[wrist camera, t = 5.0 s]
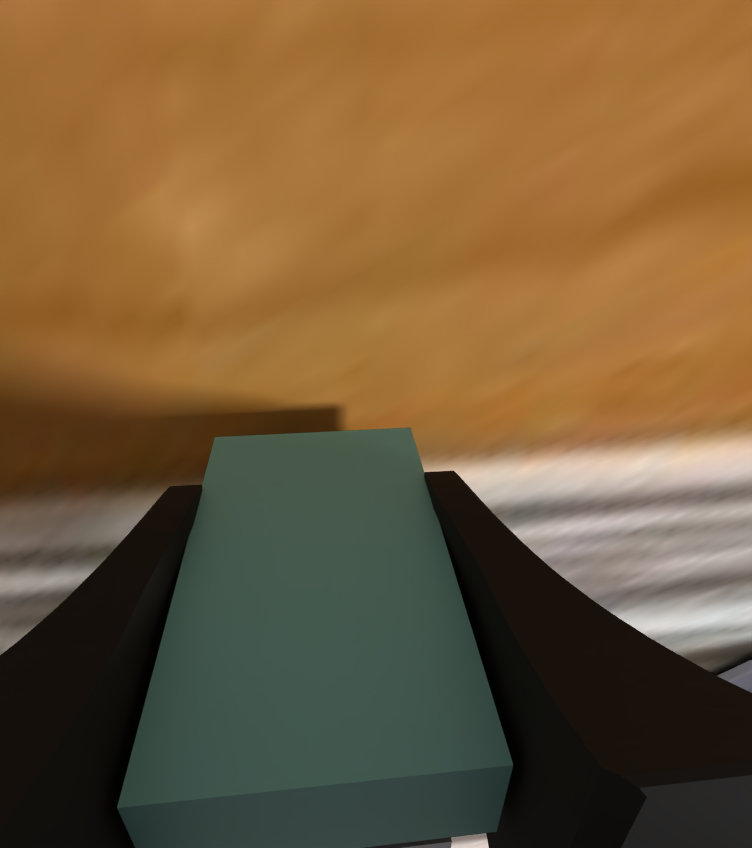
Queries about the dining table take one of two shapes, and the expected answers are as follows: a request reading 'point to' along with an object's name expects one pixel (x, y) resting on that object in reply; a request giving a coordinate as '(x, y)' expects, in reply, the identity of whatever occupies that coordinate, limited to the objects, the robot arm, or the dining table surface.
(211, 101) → the dining table surface
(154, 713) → the tile
